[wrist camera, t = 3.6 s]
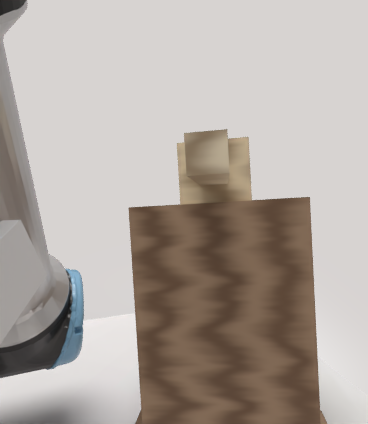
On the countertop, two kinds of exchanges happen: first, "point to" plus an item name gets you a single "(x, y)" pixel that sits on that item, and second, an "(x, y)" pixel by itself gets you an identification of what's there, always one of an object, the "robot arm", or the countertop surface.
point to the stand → (226, 313)
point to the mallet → (213, 168)
